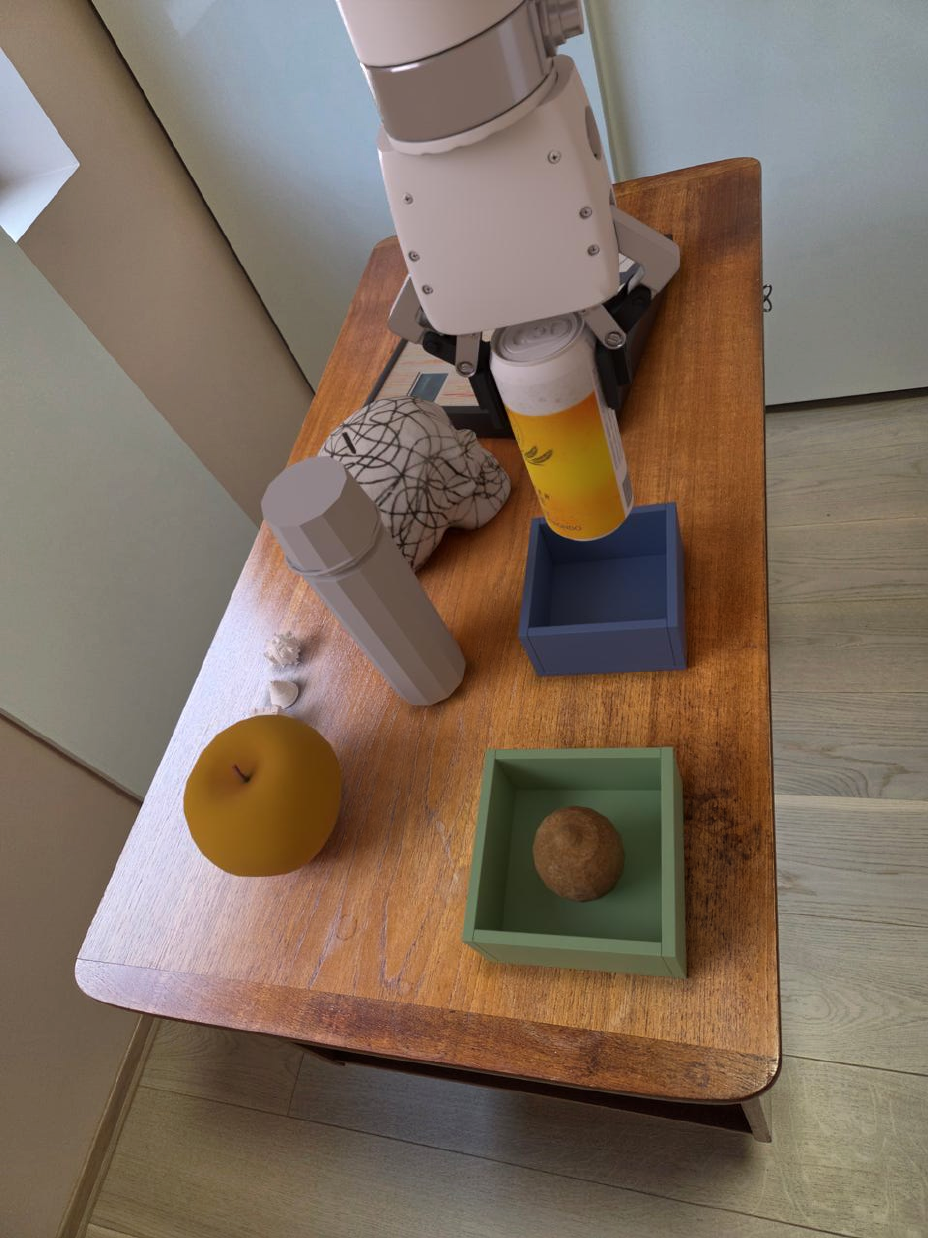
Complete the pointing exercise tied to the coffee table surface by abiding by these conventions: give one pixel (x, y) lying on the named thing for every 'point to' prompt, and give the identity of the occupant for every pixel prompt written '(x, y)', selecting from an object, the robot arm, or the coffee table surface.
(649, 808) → the green bin
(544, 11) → the robot arm
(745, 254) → the coffee table surface
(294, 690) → the seashells
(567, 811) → the fruit
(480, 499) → the sculpture
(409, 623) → the water bottle
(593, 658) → the blue bin
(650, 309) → the framed painting
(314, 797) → the apple
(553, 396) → the beer can
